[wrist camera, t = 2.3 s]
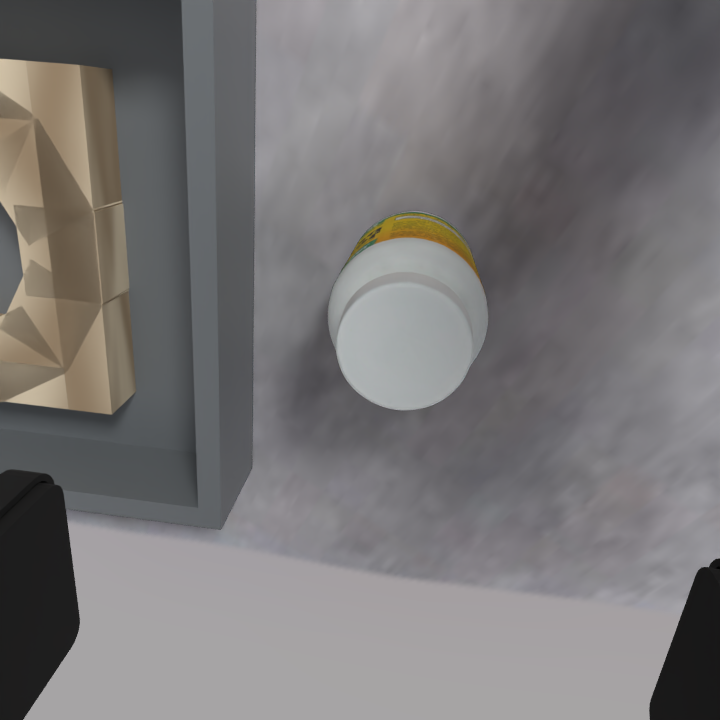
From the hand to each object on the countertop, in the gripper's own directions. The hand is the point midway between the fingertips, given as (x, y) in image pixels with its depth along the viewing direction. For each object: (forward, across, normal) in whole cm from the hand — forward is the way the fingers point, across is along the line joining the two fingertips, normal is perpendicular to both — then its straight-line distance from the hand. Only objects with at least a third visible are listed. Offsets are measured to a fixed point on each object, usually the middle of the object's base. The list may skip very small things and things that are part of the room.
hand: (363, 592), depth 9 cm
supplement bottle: (+19, 0, 0) cm, 19 cm away
